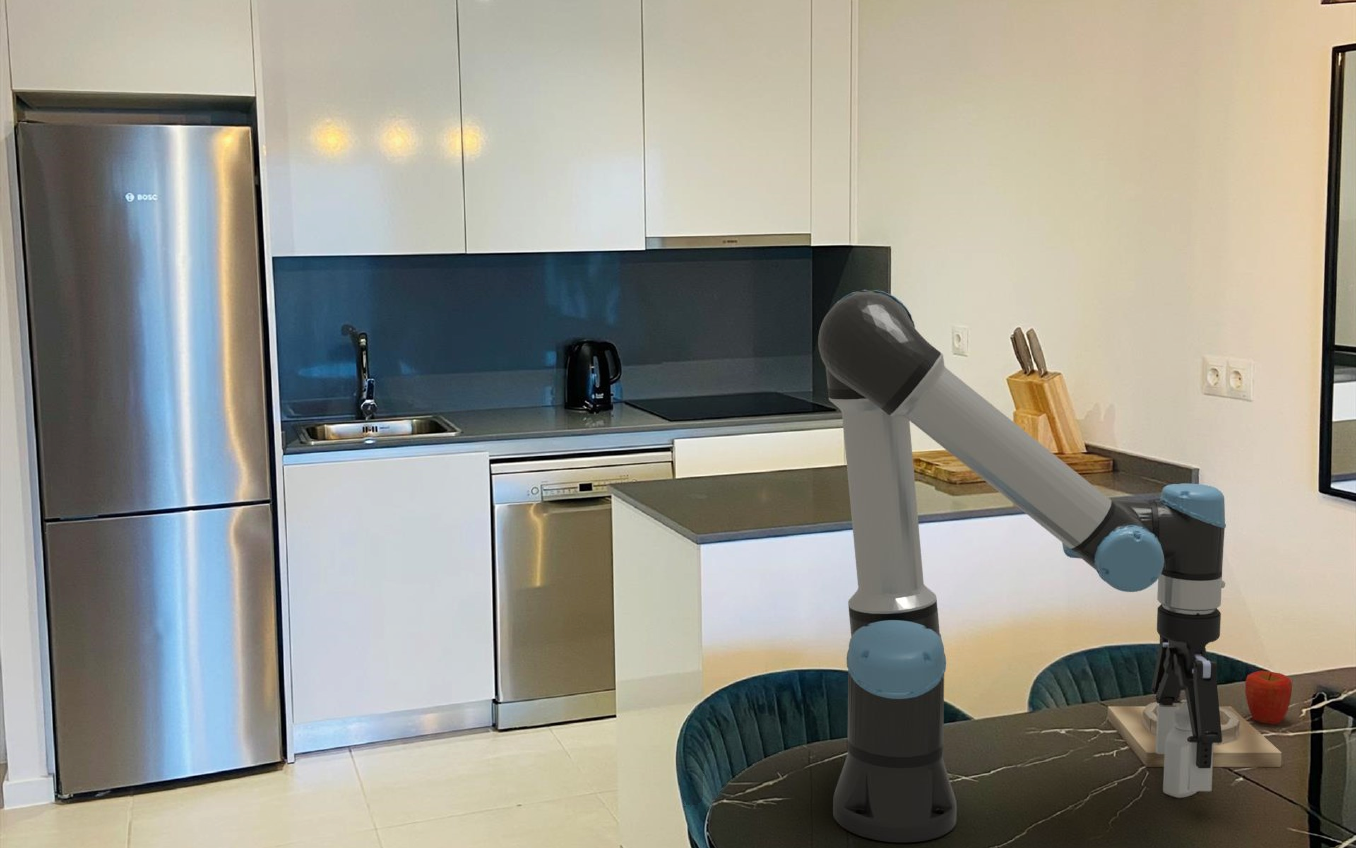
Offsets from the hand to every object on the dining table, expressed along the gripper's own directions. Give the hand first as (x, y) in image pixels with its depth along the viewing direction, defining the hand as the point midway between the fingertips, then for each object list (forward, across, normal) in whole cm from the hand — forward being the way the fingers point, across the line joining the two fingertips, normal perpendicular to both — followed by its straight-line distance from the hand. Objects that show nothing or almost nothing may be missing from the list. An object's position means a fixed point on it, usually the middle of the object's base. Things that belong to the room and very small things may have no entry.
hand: (1182, 771), depth 170 cm
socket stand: (+3, +17, -7) cm, 19 cm away
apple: (+3, +25, -21) cm, 33 cm away
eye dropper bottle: (+3, 0, 0) cm, 3 cm away
